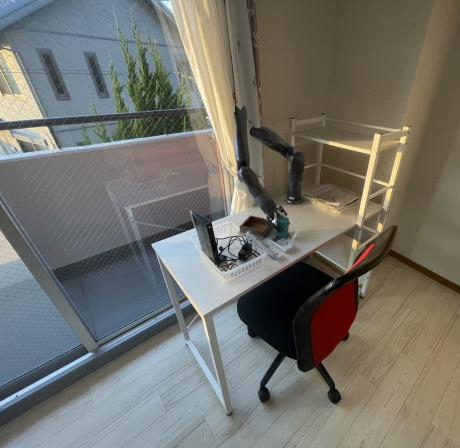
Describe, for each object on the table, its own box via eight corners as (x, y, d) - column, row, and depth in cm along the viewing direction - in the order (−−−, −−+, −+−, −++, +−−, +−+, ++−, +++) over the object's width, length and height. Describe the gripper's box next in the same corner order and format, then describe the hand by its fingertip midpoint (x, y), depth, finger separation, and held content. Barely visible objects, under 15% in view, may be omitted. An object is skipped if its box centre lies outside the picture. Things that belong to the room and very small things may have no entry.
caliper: (246, 239, 122) (245, 229, 119) (247, 238, 123) (247, 228, 120) (274, 259, 110) (274, 247, 107) (276, 257, 111) (276, 246, 108)
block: (279, 232, 129) (279, 216, 123) (288, 234, 127) (289, 218, 122) (275, 237, 125) (276, 220, 119) (284, 239, 123) (285, 223, 118)
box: (250, 221, 136) (250, 215, 134) (272, 226, 133) (272, 220, 131) (240, 233, 127) (239, 226, 124) (263, 238, 123) (262, 231, 121)
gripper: (268, 200, 129) (287, 225, 130) (252, 211, 118) (272, 238, 120) (277, 193, 124) (296, 219, 126) (261, 204, 113) (282, 232, 115)
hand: (284, 228), depth 123 cm, fingers open, 8 cm apart
